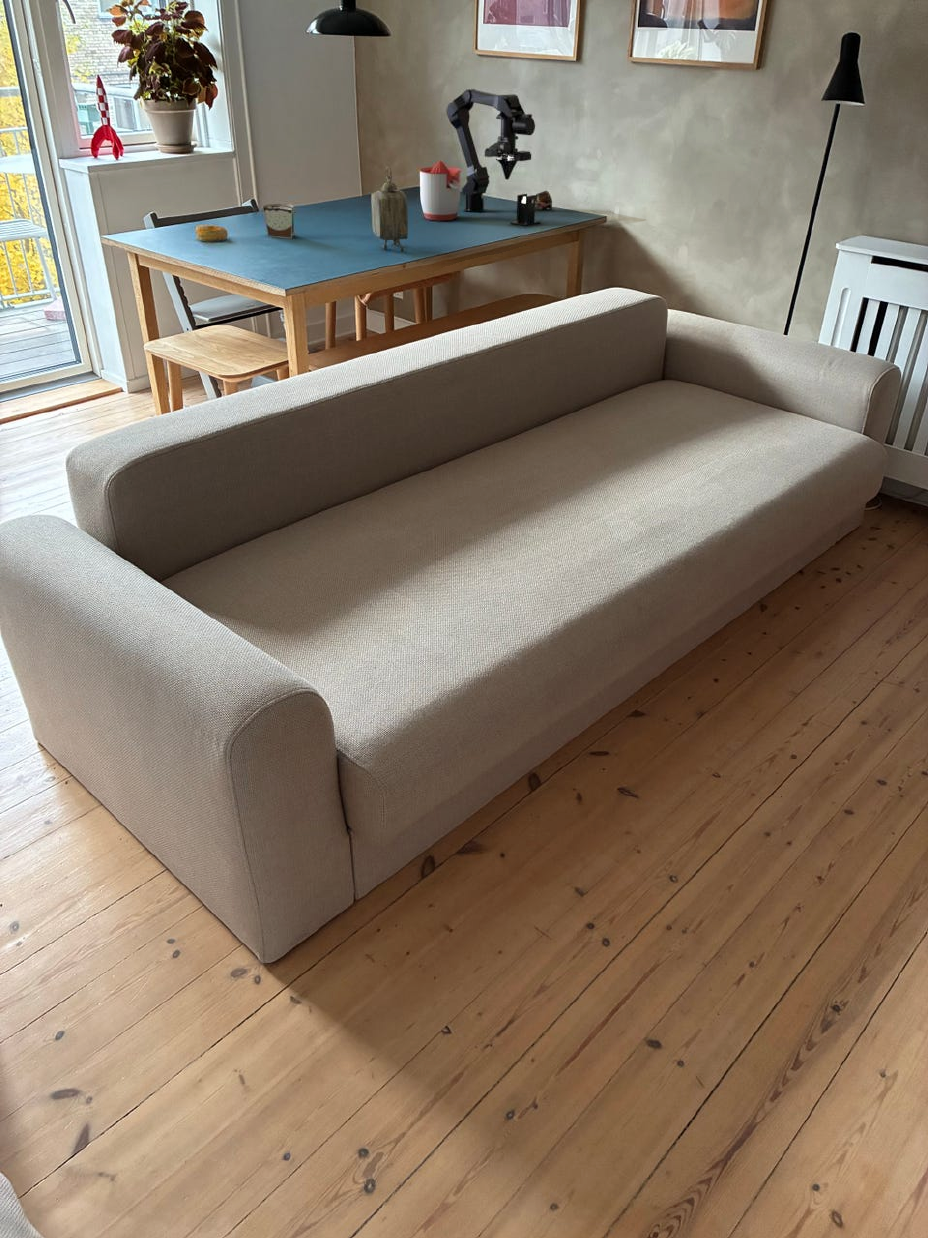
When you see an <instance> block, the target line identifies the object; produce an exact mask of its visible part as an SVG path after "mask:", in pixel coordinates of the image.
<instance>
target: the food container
mask: <svg viewBox="0 0 928 1238" xmlns="http://www.w3.org/2000/svg"><path fill="white" fill-rule="evenodd" d="M261 212H262V213H263V217H264V222H265V229H266V232H267V237H268V238H280V239H281V238H282V239H293V238H294V237H295V236H294V235H295V234H294V232H295V231H294V230H295V228H294V225H295V224H294V223H295V222H294V221H295V218H294V217H295V215H296V209H295V207H294V205H293V204H289V203H288V204H287V203H269V204H263V205H262V206H261Z"/></svg>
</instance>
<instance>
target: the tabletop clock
mask: <svg viewBox="0 0 928 1238" xmlns="http://www.w3.org/2000/svg"><path fill="white" fill-rule="evenodd" d="M388 171H389V175H388ZM385 178H386V180H387V181H386V182H384V183H383V184H382V185H381V189H380V190H376V191H374V192H373V193H372V194H371V195H370V200H371V201H370V202H371V223H372V225H371V226H372V231H373V233H374V235H375V236H376V237H377V238H379V239H381V240H383V241H384V243H383V244H382V246H381V248H382V249H383V250H384V251H385V250H387V248H388V245H387V242H388V241H392V242H391V243H392V245H393V246H397V245H398V247H399V252H401V253H403V252H405V247H404V246H402V244H401V241H400V240H407V239H408V235H409V218H408V217H409V215H408V200H407V196H406V194H405V192H404V191H403V190H402V189H398V187H397V185H396V184H395V183H394V182H392V178H393V175H392V170H391V167H389V166H386V167H385Z"/></svg>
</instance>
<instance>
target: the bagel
mask: <svg viewBox="0 0 928 1238" xmlns="http://www.w3.org/2000/svg"><path fill="white" fill-rule="evenodd" d="M195 234H196V236H197V239H198V240H199V241H201V242H207V243H209V242H210V243H211V242H212V243H213V242H220V241H225V240H227V238H228V237H229V234H228V230H227V229H226V228H224V227H223V226H219V225H216V224H215V225H214V224H206V225H204V224H199V225H197V226H196V227H195Z"/></svg>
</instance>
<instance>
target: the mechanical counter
mask: <svg viewBox="0 0 928 1238" xmlns="http://www.w3.org/2000/svg"><path fill="white" fill-rule="evenodd" d="M535 195H536V197H535V201H536V202H542V203H545V204H546V205H545V207H542V206H535V210H541V211H544V210H548V209H549V210H551V211H553V199H552V196H551V194H550V192H549V191H548V190H544V191H541V192H538V193H536V194H535Z"/></svg>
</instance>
